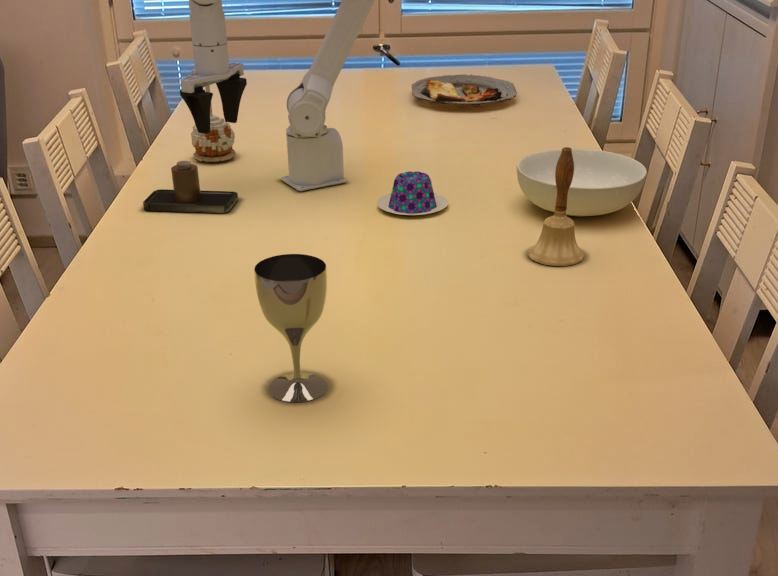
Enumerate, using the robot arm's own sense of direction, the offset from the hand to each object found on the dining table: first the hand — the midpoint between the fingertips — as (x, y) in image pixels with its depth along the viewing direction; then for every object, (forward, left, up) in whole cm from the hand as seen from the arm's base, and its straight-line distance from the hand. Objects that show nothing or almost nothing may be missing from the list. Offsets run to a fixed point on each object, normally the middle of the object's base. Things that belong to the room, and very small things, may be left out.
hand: (217, 127), depth 177 cm
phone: (+8, +6, -10) cm, 15 cm away
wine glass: (+21, +74, -11) cm, 78 cm away
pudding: (-23, +27, -11) cm, 37 cm away
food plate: (-70, -29, -11) cm, 77 cm away
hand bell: (-30, +57, -11) cm, 65 cm away
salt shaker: (+9, +6, -10) cm, 15 cm away
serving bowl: (-46, +42, -11) cm, 63 cm away
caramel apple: (-5, -17, -11) cm, 21 cm away
